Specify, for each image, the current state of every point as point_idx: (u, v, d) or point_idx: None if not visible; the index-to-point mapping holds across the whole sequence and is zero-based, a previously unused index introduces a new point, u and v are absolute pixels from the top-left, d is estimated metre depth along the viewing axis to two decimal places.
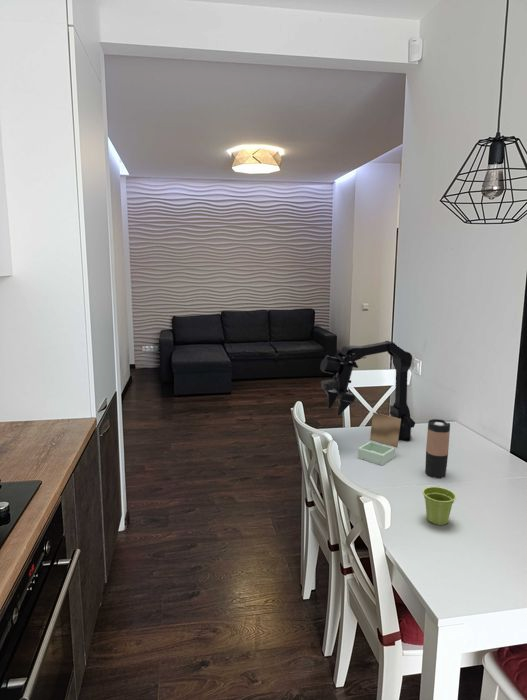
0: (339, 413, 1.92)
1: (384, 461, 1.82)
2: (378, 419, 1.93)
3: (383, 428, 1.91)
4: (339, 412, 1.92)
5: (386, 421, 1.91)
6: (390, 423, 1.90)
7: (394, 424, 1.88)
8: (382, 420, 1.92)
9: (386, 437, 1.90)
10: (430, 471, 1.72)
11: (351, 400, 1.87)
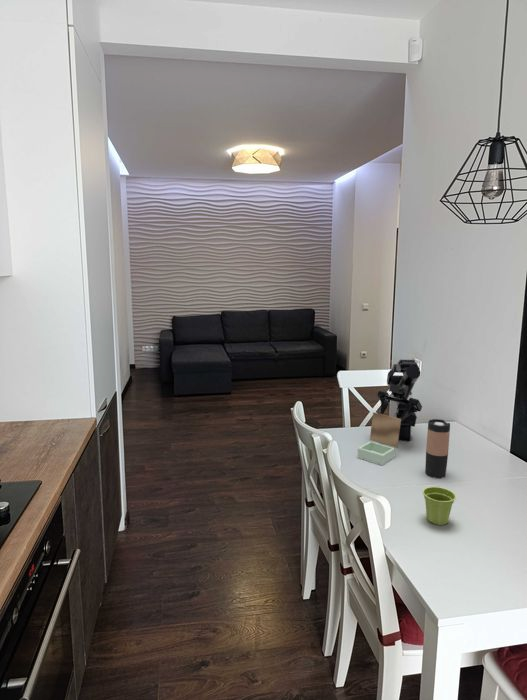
0: (402, 419, 1.92)
1: (384, 461, 1.82)
2: (378, 419, 1.93)
3: (383, 428, 1.91)
4: (403, 417, 1.92)
5: (386, 421, 1.91)
6: (390, 423, 1.90)
7: (394, 424, 1.88)
8: (382, 420, 1.92)
9: (386, 437, 1.90)
10: (430, 471, 1.72)
11: (420, 408, 1.92)
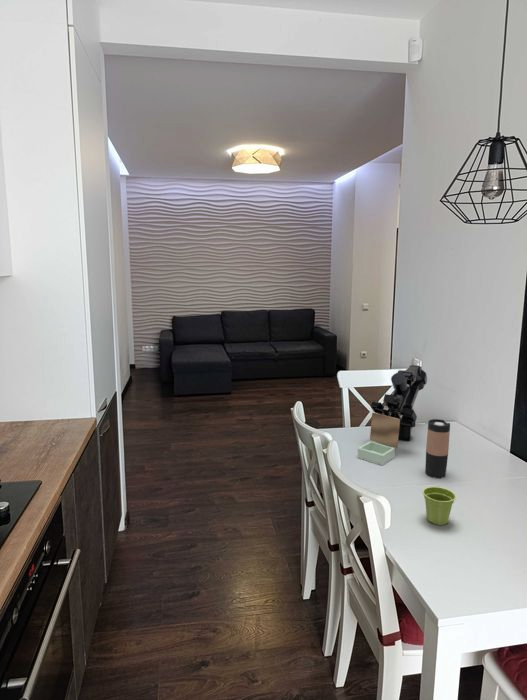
0: None
1: (384, 461, 1.82)
2: (377, 419, 1.93)
3: (382, 428, 1.91)
4: None
5: (385, 421, 1.90)
6: (389, 423, 1.89)
7: (393, 424, 1.88)
8: (381, 420, 1.91)
9: (386, 437, 1.90)
10: (430, 471, 1.72)
11: (415, 418, 1.89)
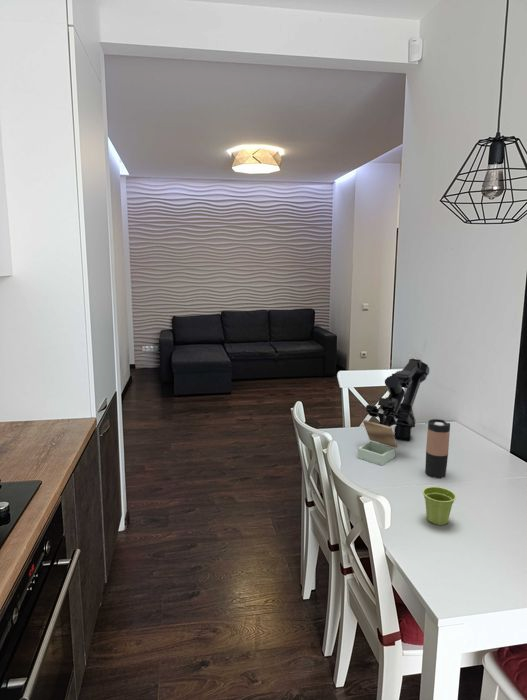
0: None
1: (384, 461, 1.82)
2: (370, 426, 1.88)
3: (378, 433, 1.88)
4: None
5: (378, 428, 1.86)
6: (382, 430, 1.85)
7: (386, 431, 1.84)
8: (374, 427, 1.87)
9: (384, 440, 1.89)
10: (430, 471, 1.72)
11: (410, 422, 1.86)
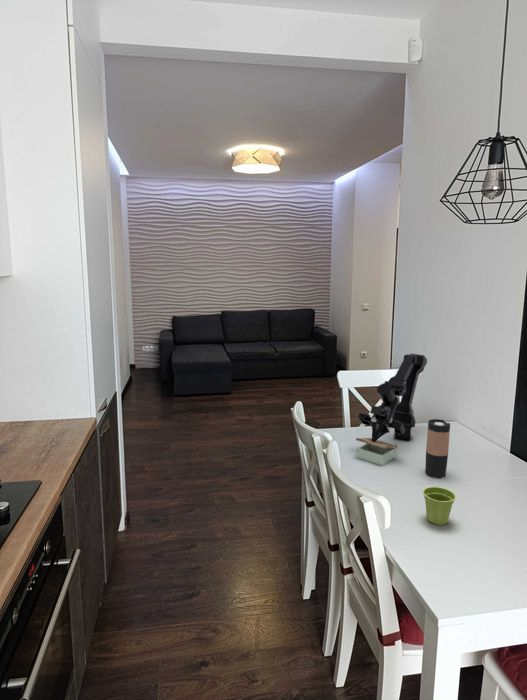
0: (375, 440, 1.84)
1: (384, 461, 1.82)
2: None
3: None
4: (376, 438, 1.84)
5: None
6: None
7: None
8: None
9: None
10: (430, 471, 1.72)
11: (403, 431, 1.82)
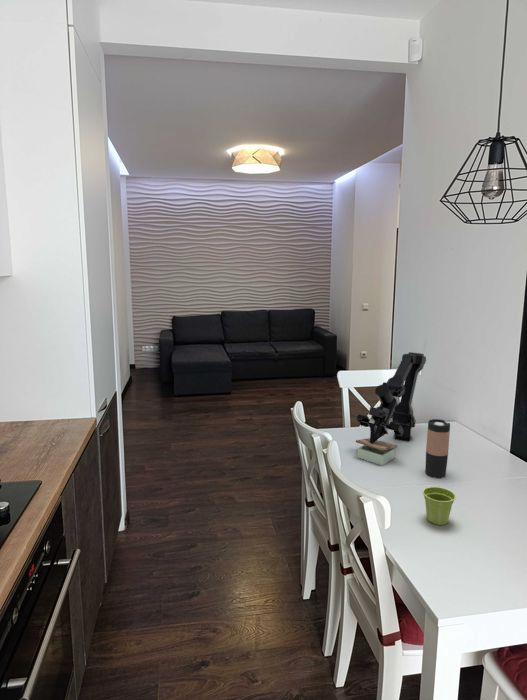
0: (373, 441, 1.83)
1: (384, 461, 1.82)
2: None
3: None
4: (374, 440, 1.83)
5: None
6: None
7: None
8: None
9: None
10: (430, 471, 1.72)
11: (401, 432, 1.81)
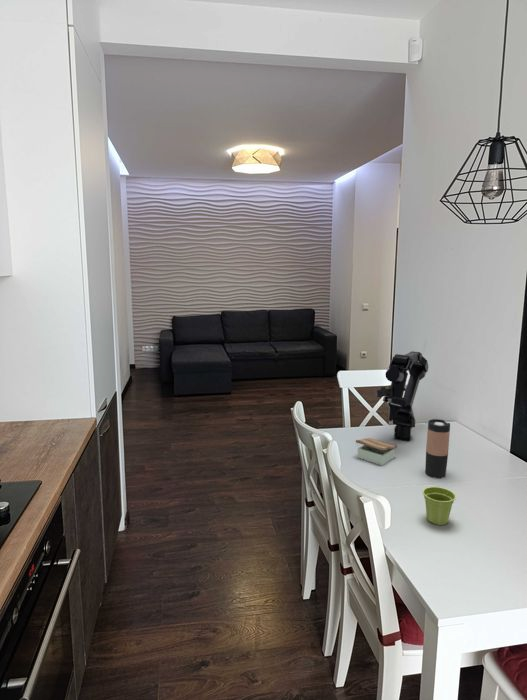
0: (390, 419, 1.94)
1: (384, 461, 1.82)
2: None
3: None
4: (390, 417, 1.94)
5: None
6: None
7: None
8: None
9: None
10: (430, 471, 1.72)
11: (402, 404, 1.86)
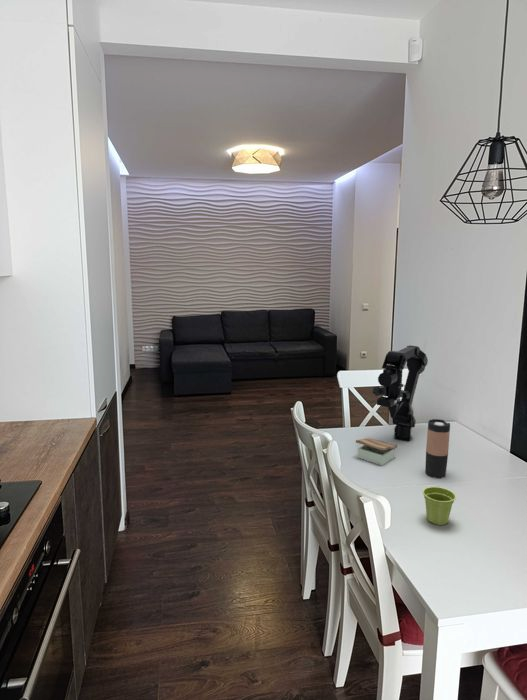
0: (392, 416, 1.96)
1: (384, 461, 1.82)
2: None
3: None
4: (391, 414, 1.96)
5: None
6: None
7: None
8: None
9: None
10: (430, 471, 1.72)
11: (385, 405, 1.88)
